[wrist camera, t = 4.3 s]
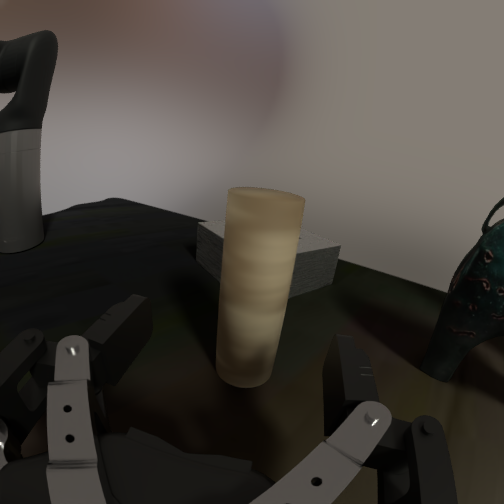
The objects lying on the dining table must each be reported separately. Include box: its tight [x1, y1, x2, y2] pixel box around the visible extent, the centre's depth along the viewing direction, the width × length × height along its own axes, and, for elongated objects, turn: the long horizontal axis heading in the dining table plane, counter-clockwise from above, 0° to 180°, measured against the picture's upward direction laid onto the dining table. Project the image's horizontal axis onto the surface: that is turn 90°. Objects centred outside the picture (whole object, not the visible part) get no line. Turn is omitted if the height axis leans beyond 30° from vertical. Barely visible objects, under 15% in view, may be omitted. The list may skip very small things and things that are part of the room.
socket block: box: [196, 220, 341, 298], centre depth 33 cm, size 12×12×5 cm
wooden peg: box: [216, 187, 305, 388], centre depth 16 cm, size 4×4×12 cm
